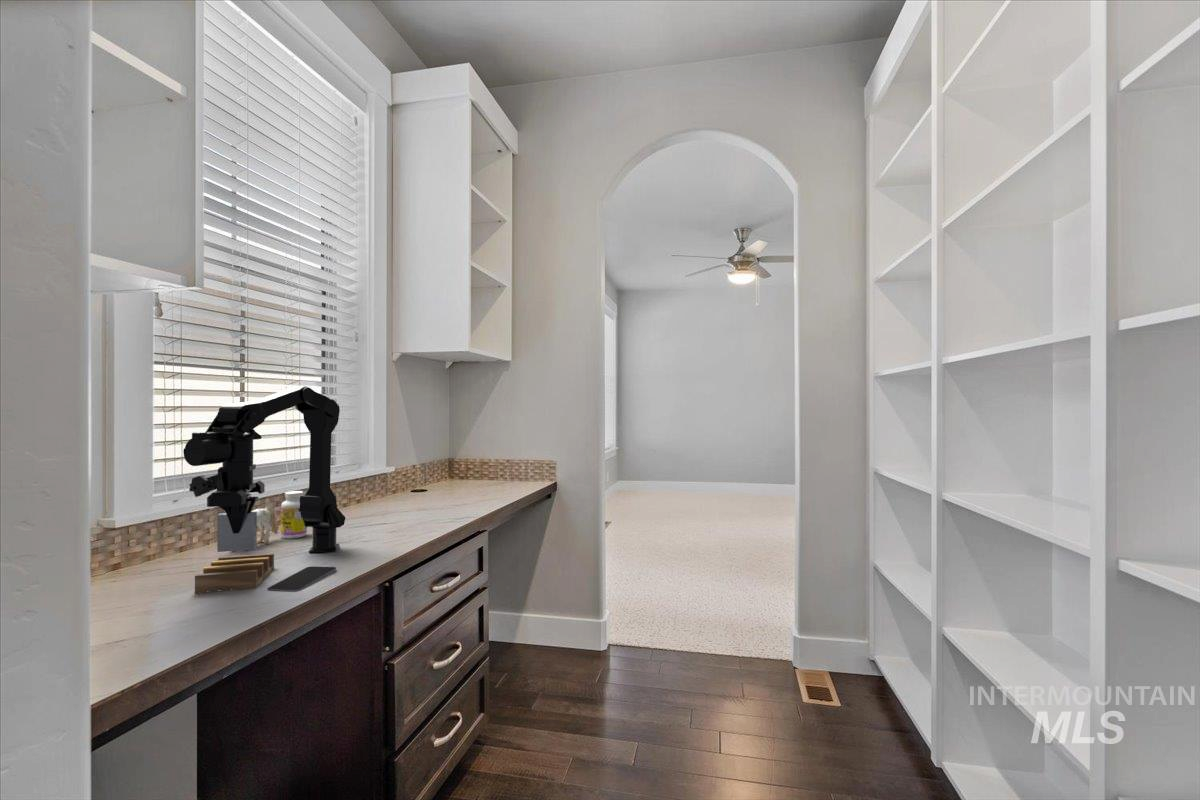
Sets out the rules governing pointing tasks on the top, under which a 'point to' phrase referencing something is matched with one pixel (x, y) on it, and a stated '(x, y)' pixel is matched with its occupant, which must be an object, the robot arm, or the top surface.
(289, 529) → the supplement bottle
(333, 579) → the top surface
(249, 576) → the rack
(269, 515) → the unicorn figurine
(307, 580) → the smartphone
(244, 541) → the block
